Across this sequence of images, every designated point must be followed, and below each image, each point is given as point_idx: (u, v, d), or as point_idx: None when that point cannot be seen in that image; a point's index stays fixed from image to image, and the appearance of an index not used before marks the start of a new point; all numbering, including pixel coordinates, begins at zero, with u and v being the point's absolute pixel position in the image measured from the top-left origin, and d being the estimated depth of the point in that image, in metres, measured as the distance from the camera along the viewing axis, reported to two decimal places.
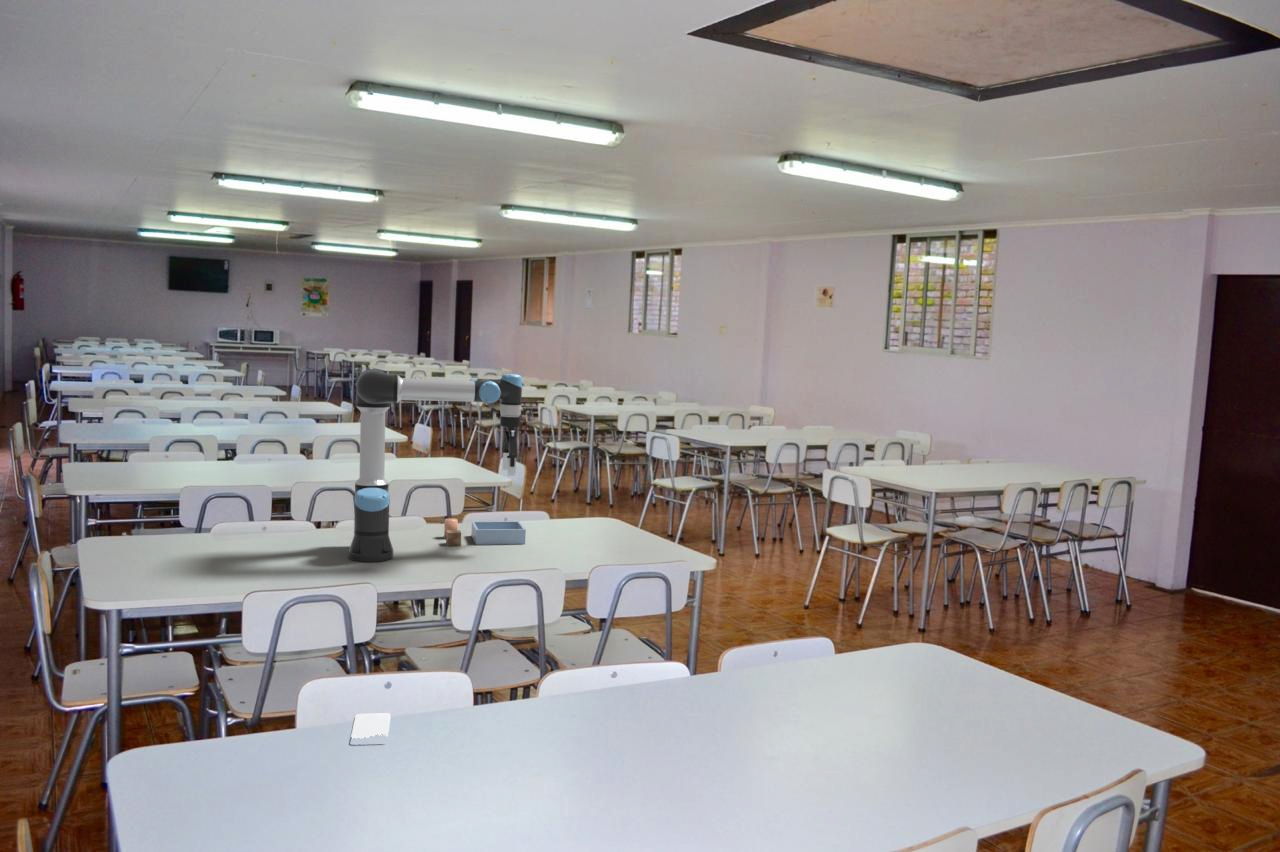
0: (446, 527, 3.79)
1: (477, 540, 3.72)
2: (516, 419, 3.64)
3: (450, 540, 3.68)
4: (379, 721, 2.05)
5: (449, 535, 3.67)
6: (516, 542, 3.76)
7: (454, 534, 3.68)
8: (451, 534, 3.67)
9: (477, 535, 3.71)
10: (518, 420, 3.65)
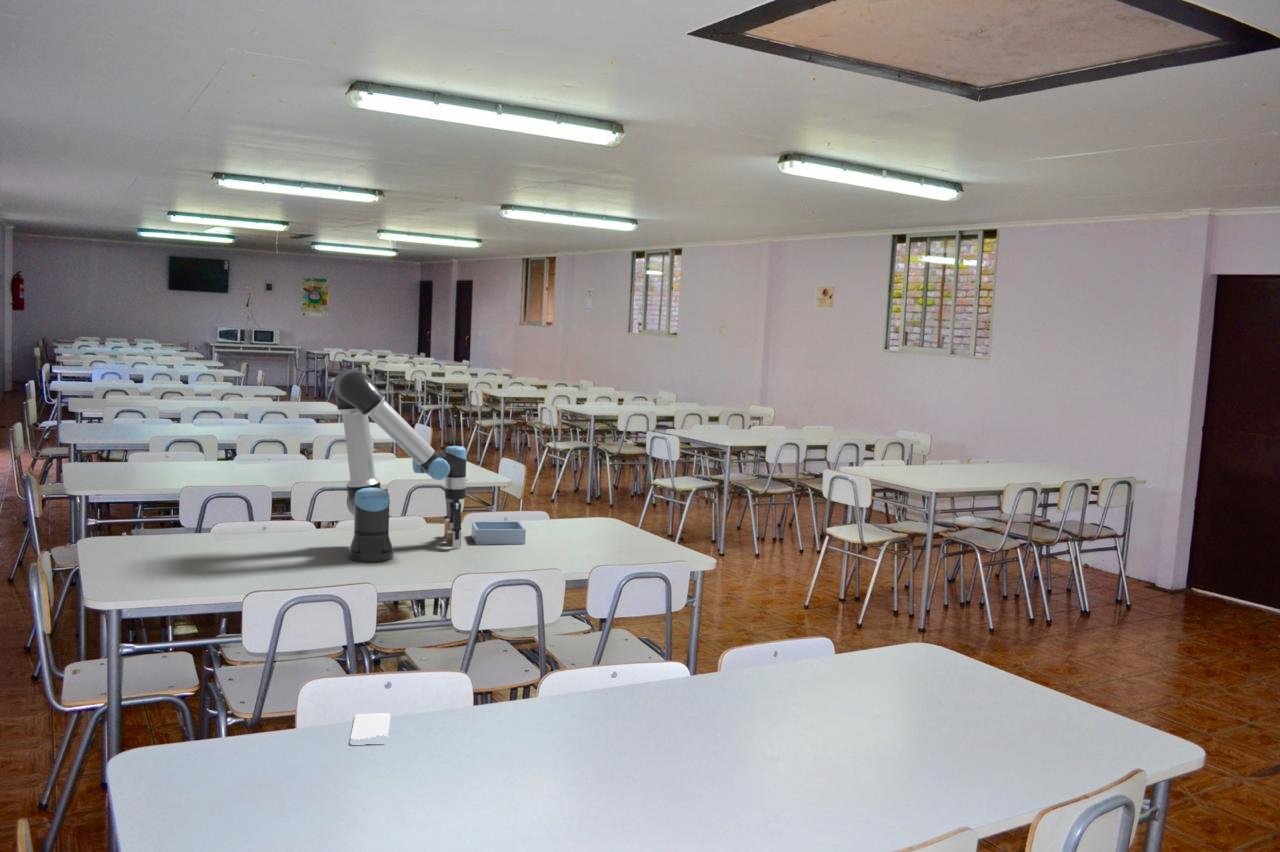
0: (446, 527, 3.79)
1: (477, 540, 3.72)
2: (461, 491, 3.66)
3: (450, 540, 3.68)
4: (379, 721, 2.05)
5: (449, 535, 3.67)
6: (516, 542, 3.76)
7: None
8: (451, 534, 3.67)
9: (477, 535, 3.71)
10: (463, 492, 3.67)
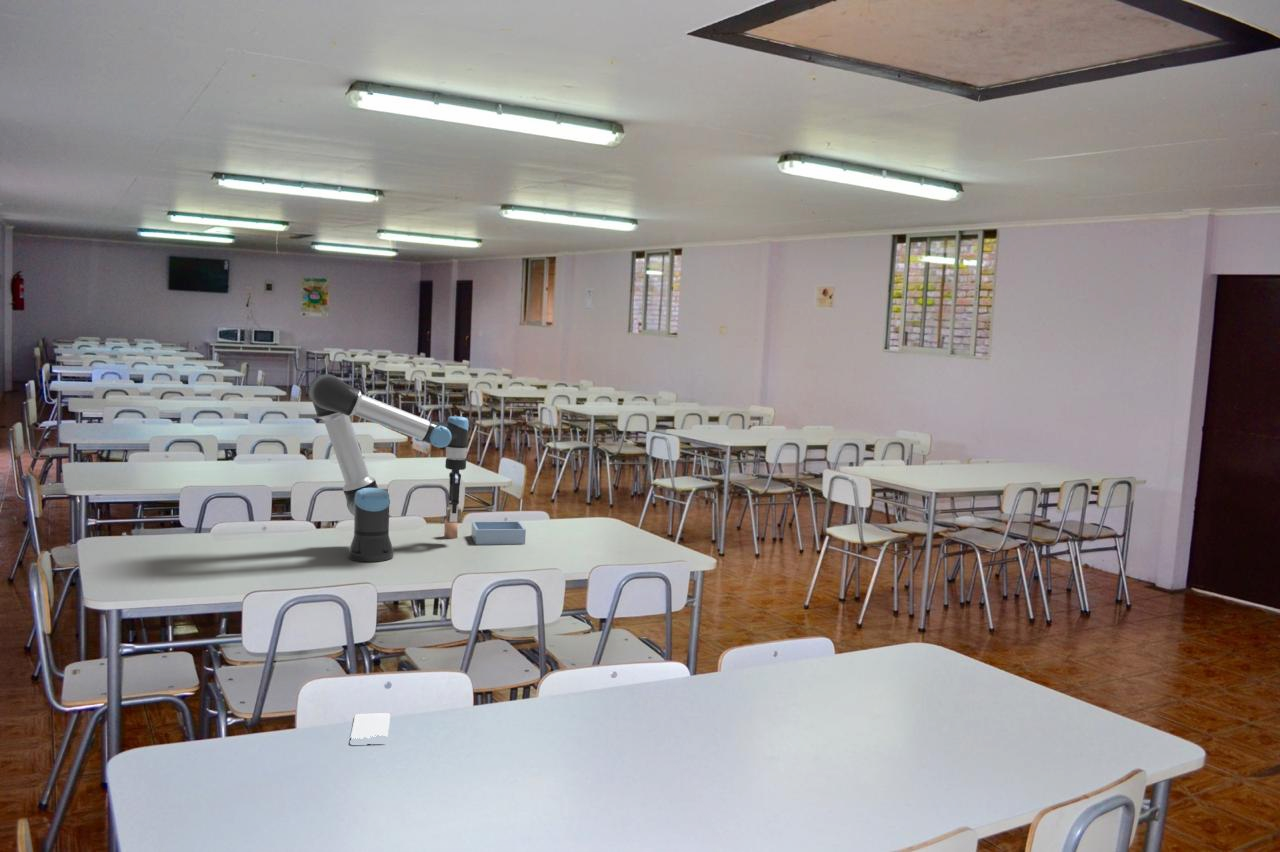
0: (446, 527, 3.79)
1: (477, 540, 3.72)
2: (461, 462, 3.65)
3: None
4: (379, 721, 2.05)
5: (449, 511, 3.66)
6: (516, 542, 3.76)
7: None
8: None
9: (477, 535, 3.71)
10: (463, 463, 3.66)
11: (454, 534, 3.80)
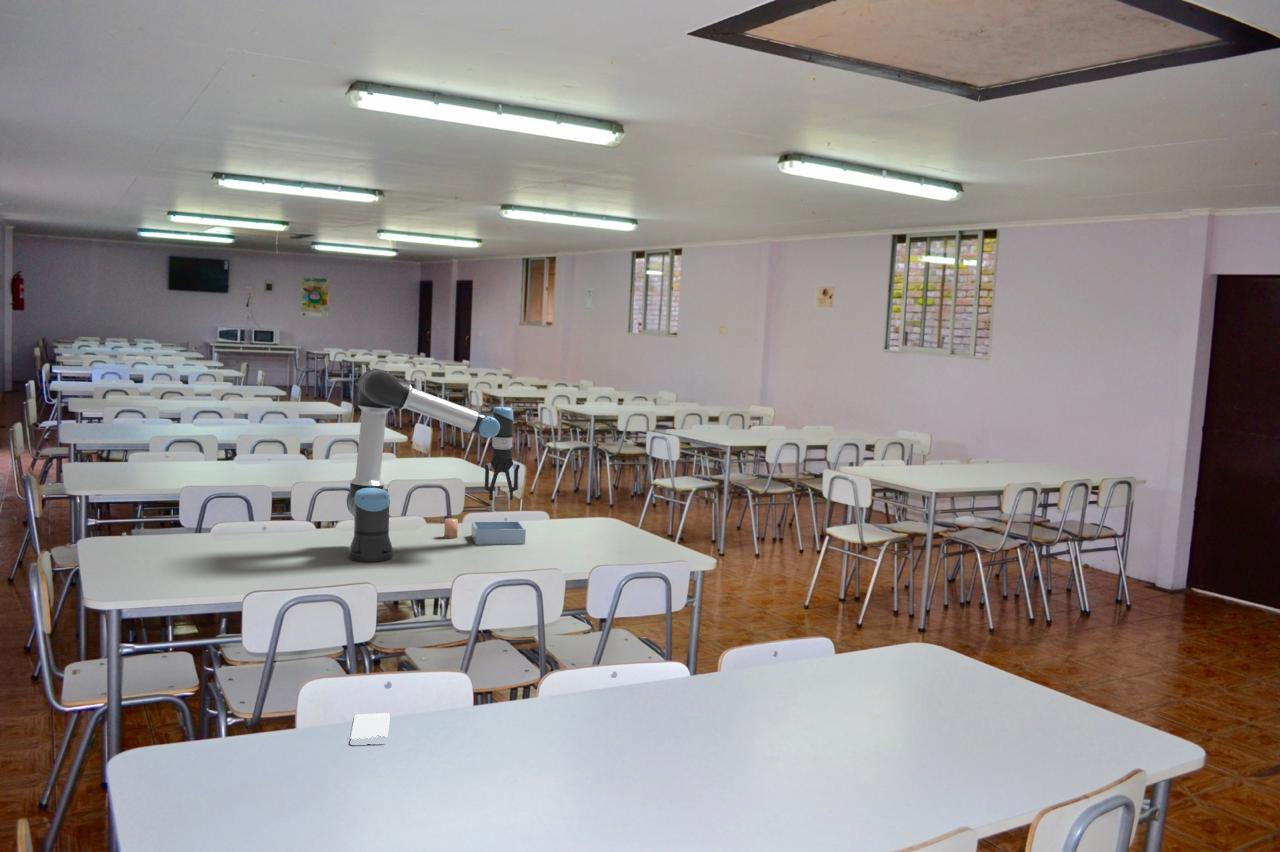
0: (446, 527, 3.79)
1: (477, 540, 3.72)
2: (494, 450, 3.72)
3: None
4: (378, 721, 2.05)
5: None
6: (516, 542, 3.76)
7: None
8: None
9: (477, 535, 3.71)
10: (495, 452, 3.72)
11: (454, 534, 3.80)
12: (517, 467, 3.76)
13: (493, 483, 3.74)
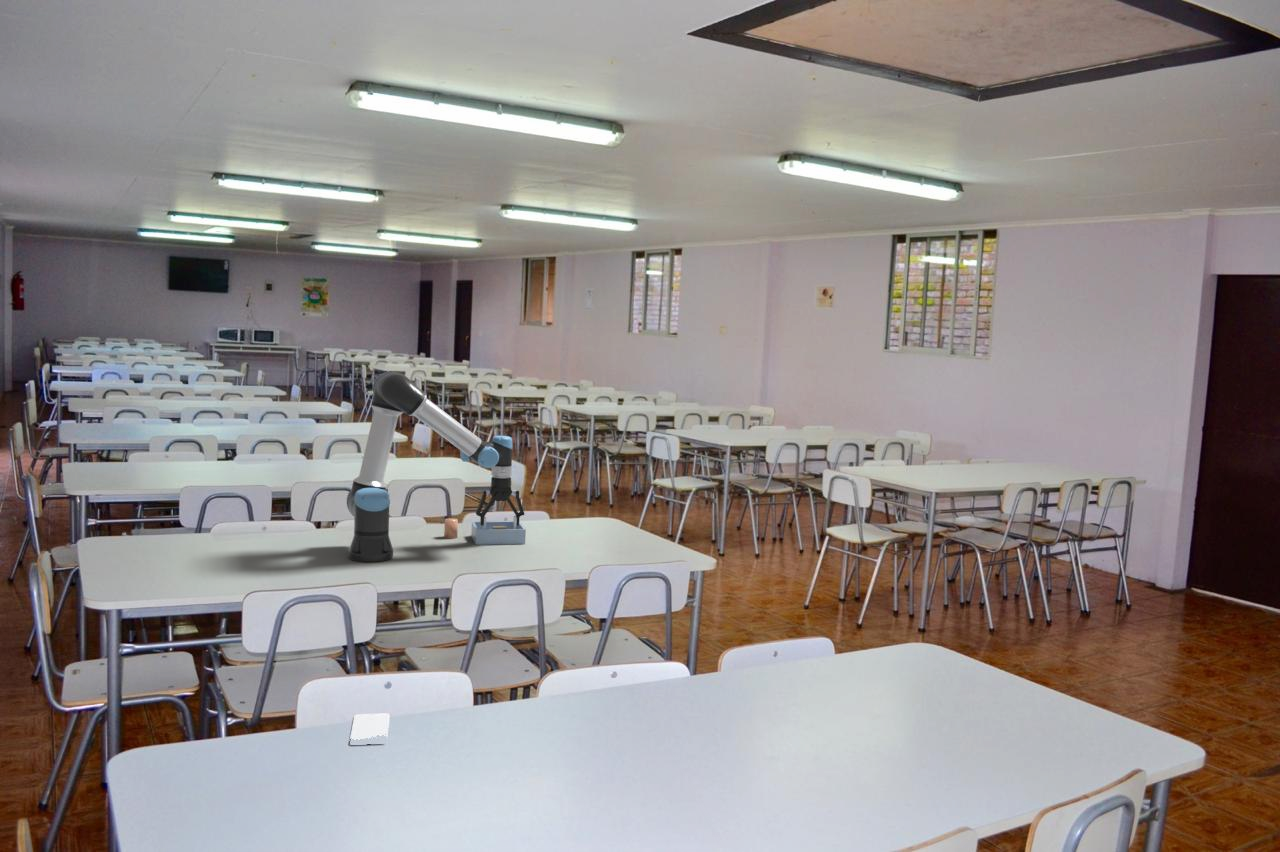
0: (446, 527, 3.79)
1: (477, 540, 3.72)
2: (493, 479, 3.73)
3: None
4: (378, 721, 2.05)
5: None
6: (516, 542, 3.76)
7: None
8: (492, 528, 3.78)
9: (477, 535, 3.71)
10: (494, 481, 3.73)
11: (454, 534, 3.80)
12: (517, 493, 3.77)
13: (486, 509, 3.74)
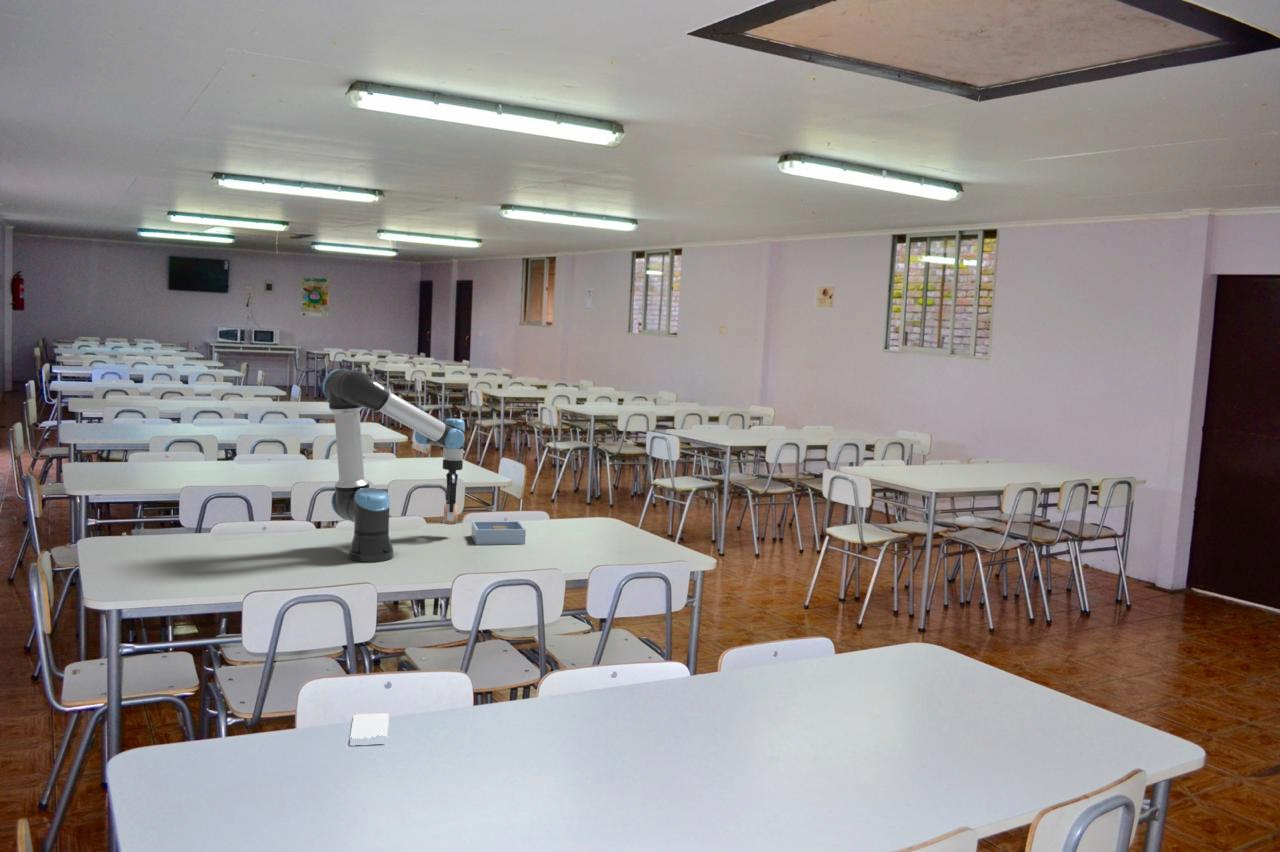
0: (446, 513, 3.79)
1: (477, 540, 3.72)
2: (458, 462, 3.76)
3: None
4: (378, 721, 2.05)
5: None
6: (516, 542, 3.76)
7: None
8: (492, 528, 3.78)
9: (477, 535, 3.71)
10: (460, 463, 3.77)
11: (454, 520, 3.79)
12: None
13: None
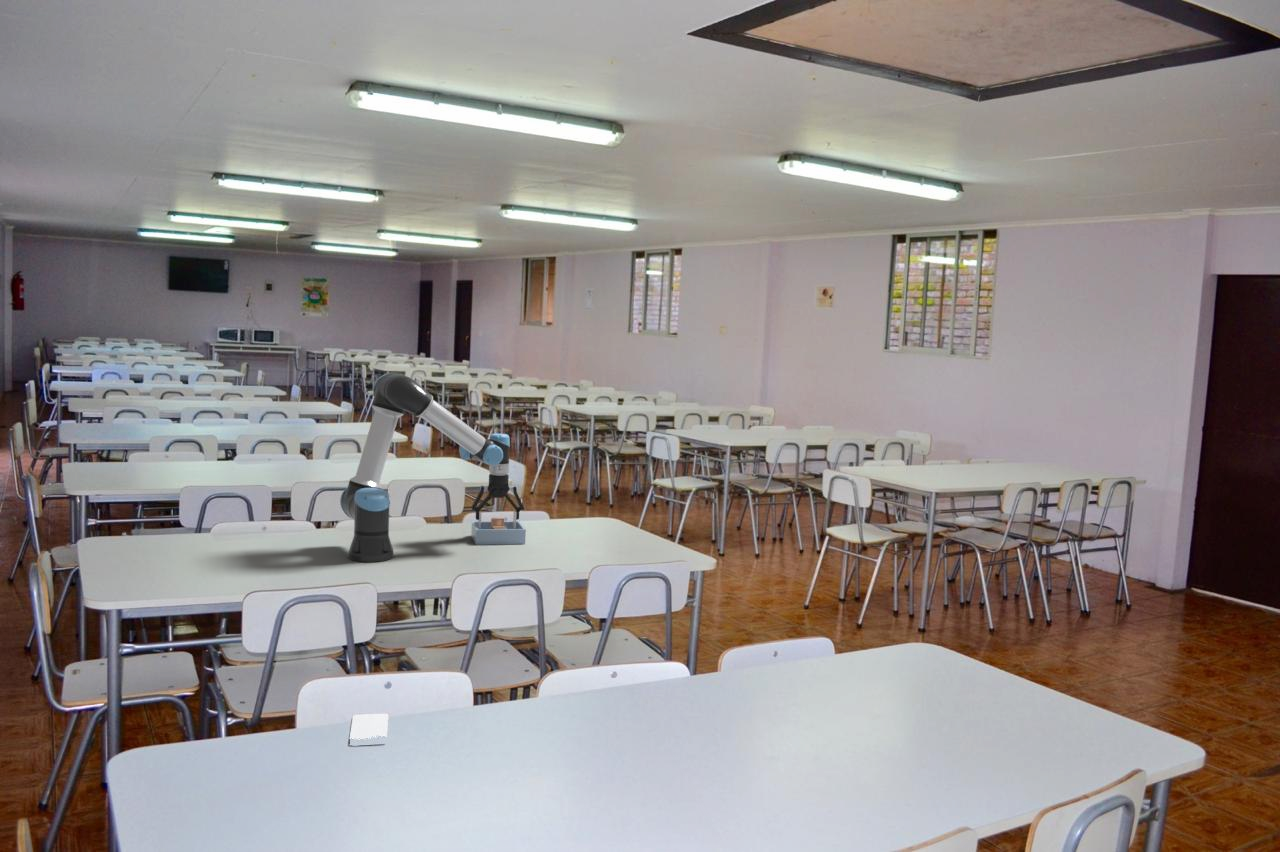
0: None
1: (477, 540, 3.72)
2: (490, 476, 3.80)
3: None
4: (377, 722, 2.05)
5: None
6: (516, 542, 3.76)
7: None
8: (492, 528, 3.78)
9: (477, 535, 3.71)
10: (492, 478, 3.79)
11: None
12: (514, 489, 3.84)
13: (482, 504, 3.81)
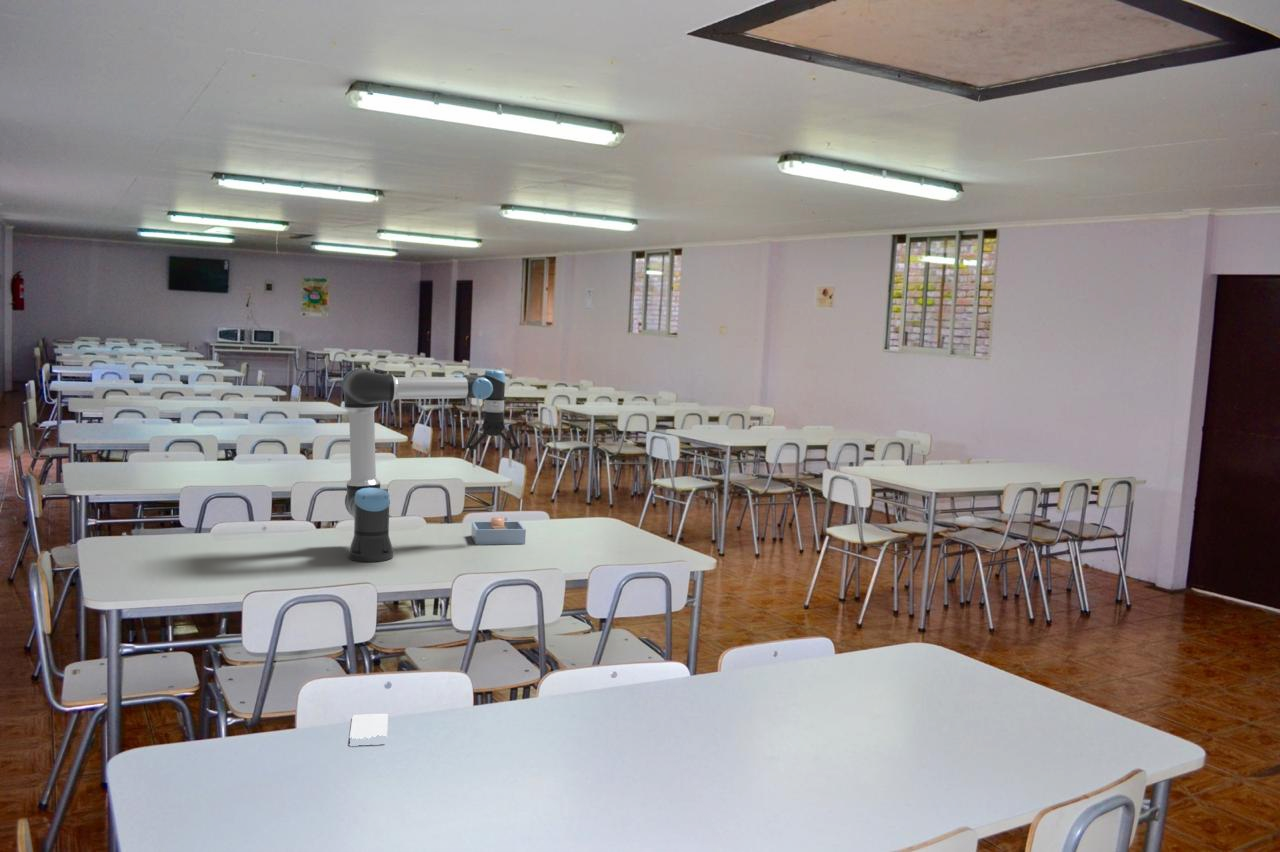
0: None
1: (477, 540, 3.72)
2: (485, 413, 3.71)
3: None
4: (377, 722, 2.05)
5: None
6: (516, 542, 3.76)
7: None
8: (492, 528, 3.78)
9: (477, 535, 3.71)
10: (487, 415, 3.70)
11: None
12: (510, 427, 3.74)
13: (477, 442, 3.72)
